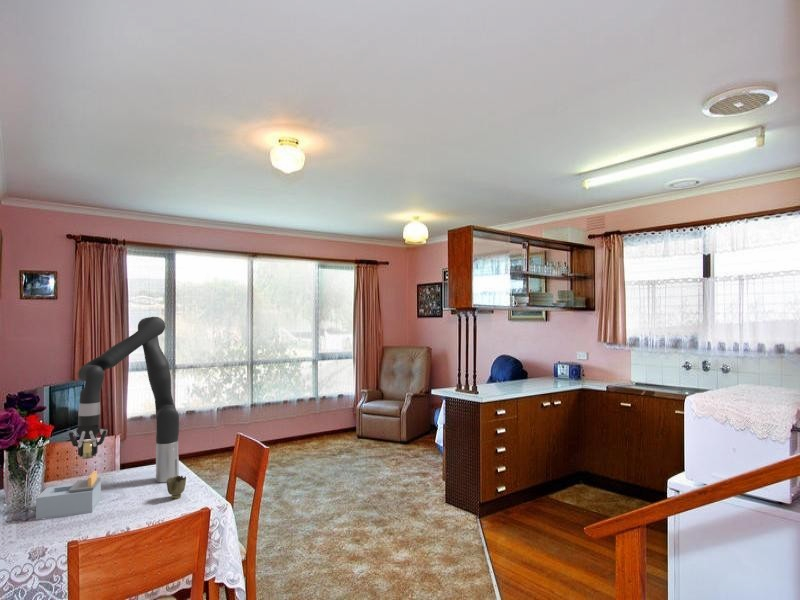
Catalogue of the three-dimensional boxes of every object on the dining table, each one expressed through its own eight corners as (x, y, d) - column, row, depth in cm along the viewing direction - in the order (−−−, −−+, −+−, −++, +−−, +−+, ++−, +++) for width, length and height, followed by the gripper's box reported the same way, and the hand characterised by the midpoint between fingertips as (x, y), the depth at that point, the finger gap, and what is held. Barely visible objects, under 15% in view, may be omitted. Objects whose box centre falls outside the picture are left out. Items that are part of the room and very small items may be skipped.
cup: (162, 499, 197) (162, 479, 197) (178, 493, 203) (178, 474, 204) (174, 502, 193) (174, 482, 194) (190, 496, 200) (190, 476, 200)
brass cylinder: (94, 455, 200) (95, 440, 200) (91, 458, 196) (92, 442, 197) (83, 456, 199) (84, 440, 199) (80, 459, 195) (81, 443, 195)
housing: (100, 499, 198) (101, 479, 198) (92, 512, 185) (92, 491, 185) (48, 506, 191) (48, 485, 192) (35, 519, 178) (36, 498, 179)
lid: (100, 479, 197) (100, 469, 197) (93, 489, 186) (93, 478, 186) (77, 482, 194) (77, 471, 194) (68, 492, 183) (68, 481, 183)
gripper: (111, 411, 204) (109, 452, 203) (72, 412, 200) (70, 454, 199) (106, 414, 197) (105, 456, 196) (66, 416, 193) (64, 459, 192)
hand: (87, 455), depth 197 cm, fingers closed on brass cylinder, 4 cm apart
